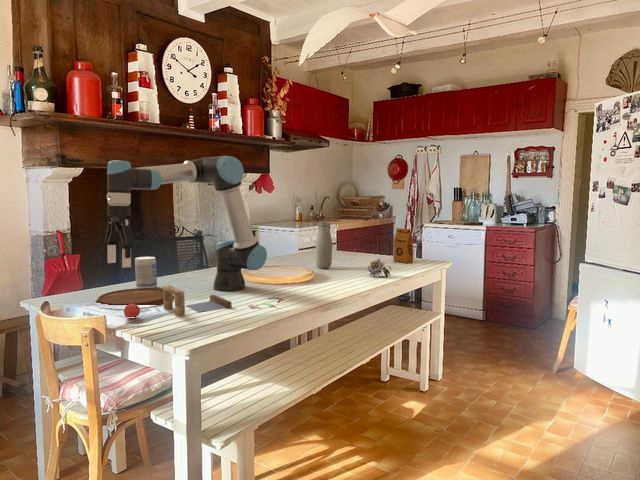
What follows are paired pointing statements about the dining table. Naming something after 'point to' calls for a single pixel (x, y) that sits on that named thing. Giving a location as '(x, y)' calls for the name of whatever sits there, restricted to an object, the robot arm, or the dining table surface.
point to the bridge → (178, 299)
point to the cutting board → (133, 297)
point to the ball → (131, 310)
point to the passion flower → (378, 268)
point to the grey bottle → (324, 246)
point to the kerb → (220, 301)
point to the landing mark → (205, 306)
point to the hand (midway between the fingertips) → (118, 265)
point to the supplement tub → (146, 272)
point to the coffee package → (403, 246)
